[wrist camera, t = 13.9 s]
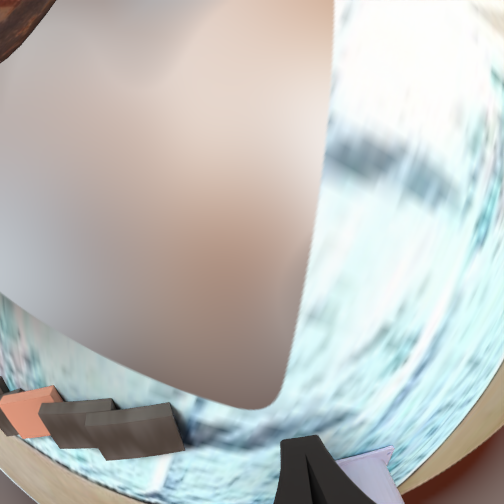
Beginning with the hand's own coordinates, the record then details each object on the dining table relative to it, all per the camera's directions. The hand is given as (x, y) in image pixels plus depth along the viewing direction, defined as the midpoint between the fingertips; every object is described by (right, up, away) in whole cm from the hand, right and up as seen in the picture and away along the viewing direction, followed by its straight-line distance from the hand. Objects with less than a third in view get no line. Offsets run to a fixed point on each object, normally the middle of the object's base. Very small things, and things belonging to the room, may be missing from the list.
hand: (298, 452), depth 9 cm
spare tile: (-19, -6, +10) cm, 22 cm away
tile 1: (-8, -6, +10) cm, 14 cm away
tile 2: (-13, -7, +10) cm, 17 cm away
